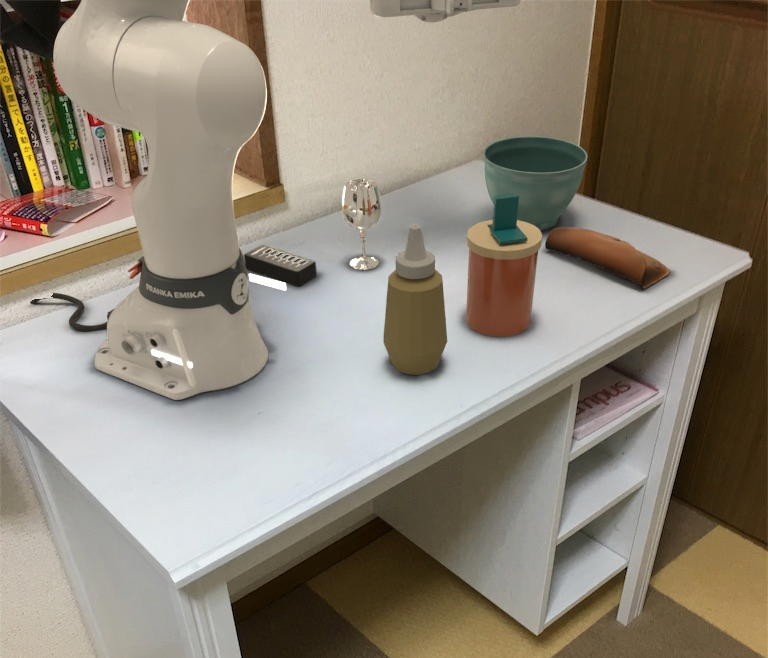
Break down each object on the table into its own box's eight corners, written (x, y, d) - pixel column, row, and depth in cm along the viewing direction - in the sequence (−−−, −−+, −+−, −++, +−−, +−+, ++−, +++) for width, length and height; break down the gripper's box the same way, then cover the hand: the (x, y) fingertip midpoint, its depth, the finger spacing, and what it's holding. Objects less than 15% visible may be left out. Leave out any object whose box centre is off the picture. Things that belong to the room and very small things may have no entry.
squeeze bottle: (441, 384, 101) (445, 244, 88) (377, 378, 102) (372, 240, 90) (451, 349, 106) (455, 214, 94) (390, 344, 108) (387, 210, 95)
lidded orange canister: (540, 331, 109) (549, 253, 102) (477, 340, 108) (481, 262, 100) (517, 300, 115) (524, 225, 108) (457, 309, 114) (460, 233, 107)
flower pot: (584, 206, 139) (594, 139, 131) (570, 246, 127) (579, 176, 120) (491, 197, 143) (495, 132, 135) (469, 235, 131) (472, 166, 124)
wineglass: (375, 274, 122) (372, 194, 114) (340, 269, 124) (334, 190, 116) (388, 257, 126) (386, 179, 118) (353, 253, 128) (349, 175, 120)
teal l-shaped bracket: (527, 241, 101) (530, 205, 98) (499, 244, 100) (502, 209, 97) (516, 227, 104) (519, 193, 101) (489, 231, 103) (491, 196, 100)
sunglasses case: (675, 269, 120) (670, 238, 114) (646, 305, 119) (640, 276, 114) (577, 232, 130) (568, 203, 124) (550, 266, 129) (540, 238, 124)
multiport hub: (299, 287, 120) (297, 272, 118) (244, 268, 125) (242, 254, 123) (318, 275, 123) (316, 261, 121) (264, 257, 127) (262, 243, 126)
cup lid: (552, 254, 101) (553, 245, 101) (480, 263, 100) (480, 254, 99) (525, 224, 108) (526, 215, 107) (458, 232, 107) (458, 223, 106)
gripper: (356, -39, 108) (379, -19, 98) (502, -50, 111) (539, -32, 101) (358, 16, 113) (381, 40, 103) (499, 3, 116) (534, 26, 106)
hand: (461, 4), depth 102 cm, fingers closed
